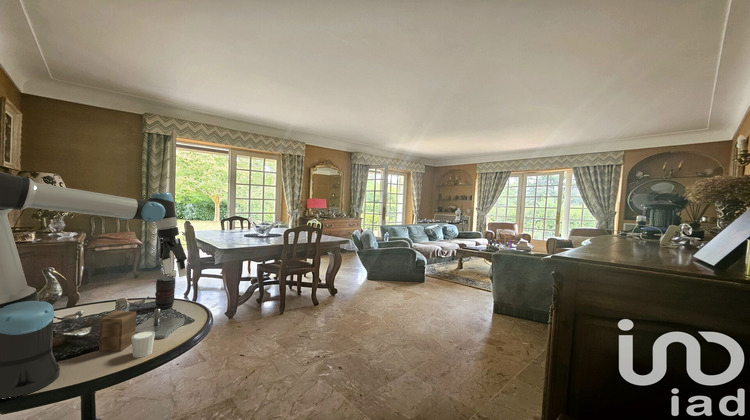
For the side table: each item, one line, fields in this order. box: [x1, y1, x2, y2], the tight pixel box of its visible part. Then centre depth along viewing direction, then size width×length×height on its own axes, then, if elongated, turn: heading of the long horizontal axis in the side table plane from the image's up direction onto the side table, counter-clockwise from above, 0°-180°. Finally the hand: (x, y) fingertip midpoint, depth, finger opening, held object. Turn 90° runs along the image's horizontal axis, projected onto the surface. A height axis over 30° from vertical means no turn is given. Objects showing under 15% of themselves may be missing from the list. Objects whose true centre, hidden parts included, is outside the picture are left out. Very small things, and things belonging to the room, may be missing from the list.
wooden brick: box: [98, 310, 137, 352], centre depth 111 cm, size 7×7×12 cm
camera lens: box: [154, 276, 176, 310], centre depth 151 cm, size 8×8×15 cm
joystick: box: [136, 307, 185, 339], centre depth 126 cm, size 14×14×10 cm
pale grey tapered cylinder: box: [131, 331, 155, 359], centre depth 108 cm, size 7×7×7 cm
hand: (175, 274), depth 131 cm, fingers open, 13 cm apart
